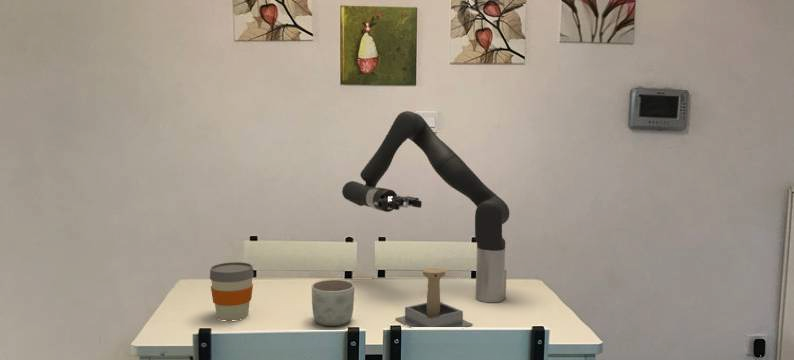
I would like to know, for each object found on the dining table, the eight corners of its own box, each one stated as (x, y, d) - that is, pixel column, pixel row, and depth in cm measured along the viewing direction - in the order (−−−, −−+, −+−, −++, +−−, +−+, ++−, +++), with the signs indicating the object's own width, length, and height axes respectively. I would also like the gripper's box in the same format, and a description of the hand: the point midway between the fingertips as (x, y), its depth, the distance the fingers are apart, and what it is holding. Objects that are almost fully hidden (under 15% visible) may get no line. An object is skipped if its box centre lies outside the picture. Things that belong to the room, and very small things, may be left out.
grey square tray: (437, 310, 183) (438, 297, 182) (472, 325, 170) (472, 312, 169) (395, 320, 174) (395, 306, 173) (428, 337, 160) (428, 322, 160)
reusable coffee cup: (231, 326, 166) (230, 275, 165) (201, 318, 173) (200, 268, 171) (263, 314, 177) (262, 265, 175) (234, 306, 184) (233, 260, 182)
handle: (445, 323, 170) (446, 272, 168) (423, 324, 169) (424, 273, 167) (442, 317, 174) (443, 268, 173) (420, 318, 173) (421, 268, 172)
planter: (318, 331, 164) (318, 293, 162) (306, 317, 175) (306, 281, 174) (360, 325, 169) (360, 288, 167) (346, 312, 180) (346, 277, 179)
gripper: (363, 189, 194) (391, 195, 181) (399, 186, 202) (427, 192, 189) (363, 211, 195) (390, 219, 181) (398, 208, 203) (427, 215, 190)
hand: (409, 205), depth 185 cm, fingers open, 8 cm apart
